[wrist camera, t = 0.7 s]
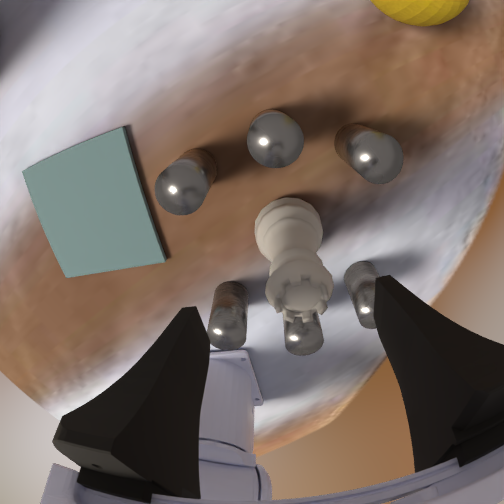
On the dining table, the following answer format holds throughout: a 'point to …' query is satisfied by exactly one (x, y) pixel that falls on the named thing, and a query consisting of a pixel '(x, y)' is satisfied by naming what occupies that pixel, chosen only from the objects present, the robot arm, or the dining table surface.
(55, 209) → the mat
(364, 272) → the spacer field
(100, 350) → the dining table surface
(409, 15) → the lemon
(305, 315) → the rook chess piece
